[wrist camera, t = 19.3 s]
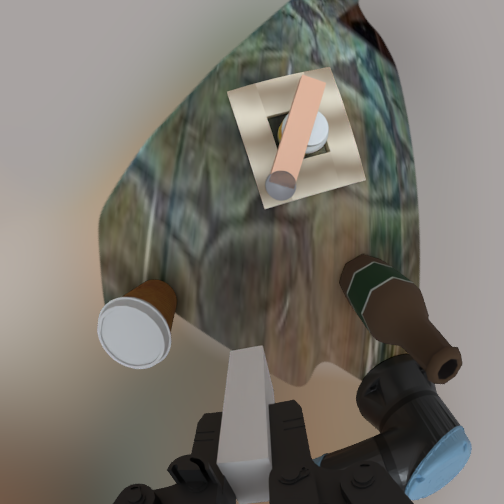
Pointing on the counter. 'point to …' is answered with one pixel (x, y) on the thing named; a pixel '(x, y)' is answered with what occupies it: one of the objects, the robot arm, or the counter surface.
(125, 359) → the disposable coffee cup
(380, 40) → the counter surface
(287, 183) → the bar
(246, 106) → the keeper board
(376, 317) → the beer bottle
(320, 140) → the supplement bottle
